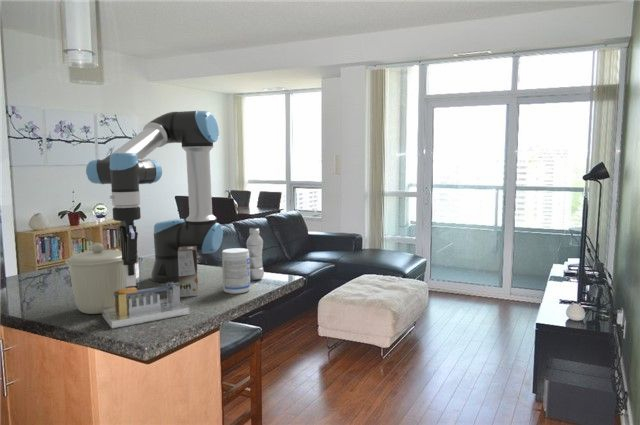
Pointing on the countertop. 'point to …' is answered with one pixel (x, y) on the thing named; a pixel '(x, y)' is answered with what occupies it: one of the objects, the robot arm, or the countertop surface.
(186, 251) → the coffee box
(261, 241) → the plastic bottle
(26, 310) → the countertop surface
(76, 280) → the canister
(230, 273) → the supplement tub
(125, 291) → the strap
